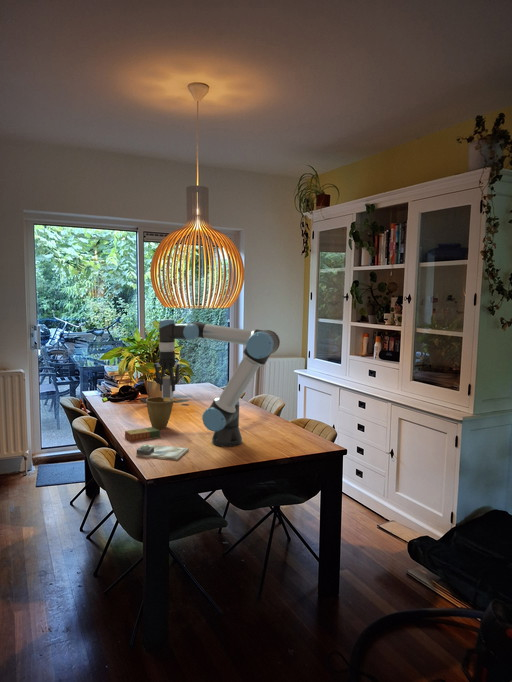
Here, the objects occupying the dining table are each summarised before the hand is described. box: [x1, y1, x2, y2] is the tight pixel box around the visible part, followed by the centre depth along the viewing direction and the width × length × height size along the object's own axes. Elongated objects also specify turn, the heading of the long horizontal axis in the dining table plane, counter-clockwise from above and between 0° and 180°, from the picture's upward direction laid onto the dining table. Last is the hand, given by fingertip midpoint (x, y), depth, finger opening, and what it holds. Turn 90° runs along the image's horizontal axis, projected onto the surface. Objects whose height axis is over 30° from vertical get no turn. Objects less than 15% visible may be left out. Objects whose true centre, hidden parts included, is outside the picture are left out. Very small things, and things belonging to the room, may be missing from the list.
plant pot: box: [145, 396, 174, 430], centre depth 277 cm, size 15×15×16 cm
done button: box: [141, 444, 150, 450], centre depth 232 cm, size 3×3×3 cm
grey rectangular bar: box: [163, 375, 173, 401], centre depth 246 cm, size 4×4×12 cm
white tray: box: [136, 443, 189, 461], centre depth 235 cm, size 20×15×3 cm
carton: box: [124, 426, 161, 443], centre depth 259 cm, size 8×16×4 cm, turn 125°
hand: (167, 397), depth 247 cm, fingers closed on grey rectangular bar, 3 cm apart
